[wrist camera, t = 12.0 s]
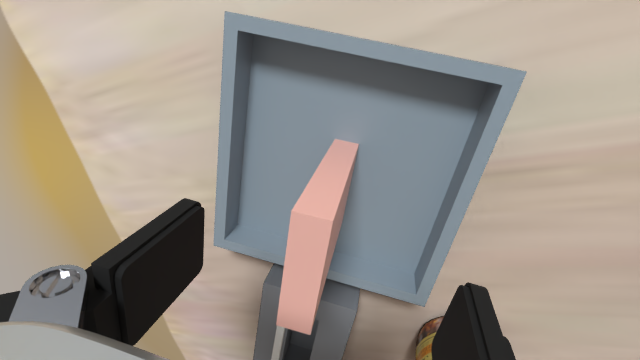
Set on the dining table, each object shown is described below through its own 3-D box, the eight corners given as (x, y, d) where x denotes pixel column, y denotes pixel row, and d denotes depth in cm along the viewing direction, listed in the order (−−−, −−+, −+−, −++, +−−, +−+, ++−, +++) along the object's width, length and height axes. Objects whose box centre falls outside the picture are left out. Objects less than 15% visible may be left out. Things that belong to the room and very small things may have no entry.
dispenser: (362, 278, 26) (357, 315, 22) (335, 367, 30) (327, 410, 27) (277, 254, 27) (260, 286, 23) (263, 344, 31) (247, 382, 28)
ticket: (358, 143, 21) (333, 221, 12) (342, 221, 23) (310, 335, 14) (334, 138, 21) (291, 211, 12) (320, 216, 23) (276, 325, 14)
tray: (506, 67, 18) (526, 71, 15) (420, 277, 25) (424, 306, 22) (247, 15, 20) (224, 11, 17) (231, 224, 26) (213, 245, 24)
